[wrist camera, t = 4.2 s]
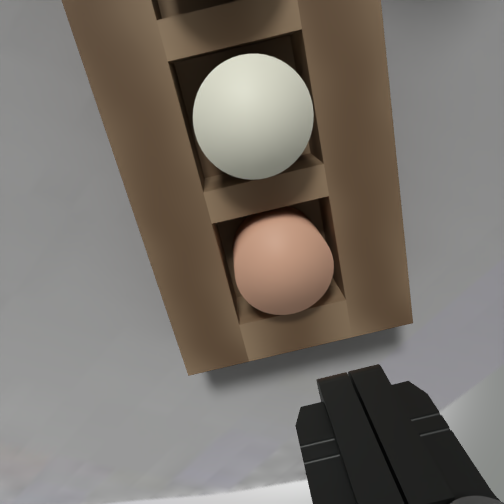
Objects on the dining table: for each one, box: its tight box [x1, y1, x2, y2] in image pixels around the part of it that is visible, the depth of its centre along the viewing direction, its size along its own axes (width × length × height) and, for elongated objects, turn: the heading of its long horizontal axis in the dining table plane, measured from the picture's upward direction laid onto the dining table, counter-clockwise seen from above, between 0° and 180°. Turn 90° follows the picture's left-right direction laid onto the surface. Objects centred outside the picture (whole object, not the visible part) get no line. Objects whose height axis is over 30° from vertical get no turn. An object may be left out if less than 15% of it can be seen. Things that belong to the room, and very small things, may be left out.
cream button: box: [193, 54, 314, 180], centre depth 18 cm, size 5×5×3 cm
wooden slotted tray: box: [62, 0, 413, 376], centre depth 21 cm, size 12×24×4 cm, turn 13°
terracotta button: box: [232, 206, 334, 315], centre depth 22 cm, size 5×5×3 cm
